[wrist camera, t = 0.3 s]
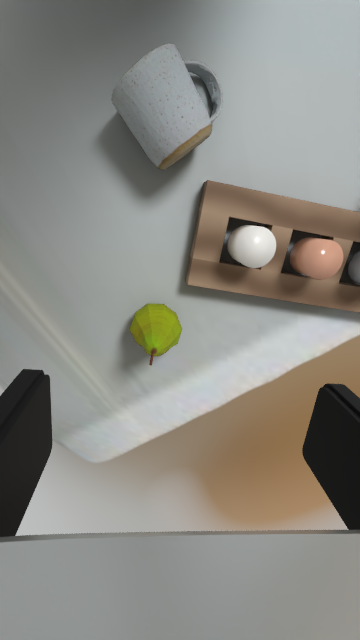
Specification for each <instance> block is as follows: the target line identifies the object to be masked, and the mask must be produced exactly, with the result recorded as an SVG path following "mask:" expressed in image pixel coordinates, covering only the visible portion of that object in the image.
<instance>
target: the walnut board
mask: <svg viewBox="0 0 360 640" xmlns="http://www.w3.org/2000/svg"><path fill="white" fill-rule="evenodd" d="M229 217H230V218H235V219H240V220H245V221H250V222H255V223H260V224H265V228H267V229H268V230H270V231H271V232H272V233H273V235H274V237H275V240H276V251H275V254H274V256H273V258H272V259H271V260H270V261H269V262H268V263H267V264H266V265H264V266H262V267H259V268H250V267H247V266H245V265H242V264H236V263H230V262H225V261H220V256H221V252H222V247H223V243H224V238H225V234H226V229H227V225H228V220H229ZM293 230H296V231H301V232H306V233H311V234H316V235H321V236H323V239H327V240H332V241H335V242H336V243H338V244H339V245H340V247H341V248H342V251H343V262H342V265H341V267H340V269H339V270H338V271H337V273H335V274H334V275H333V276H332V277H330V278H327V279H323V280H319V279H315V278H312V277H310V276H304V275H299V274H293V273H287V272H282V271H281V270H282V266H283V263H284V260H285V256H286V253H287V249H288V246H289V242H290V239H291V235H292V232H293ZM353 242H357V243H360V212H355V211H350V210H346V209H341V208H336V207H331V206H327V205H322V204H317V203H313V202H308V201H303V200H299V199H294V198H289V197H284V196H280V195H275V194H270V193H266V192H261V191H256V190H251V189H247V188H242V187H237V186H233V185H228V184H223V183H218V182H214V181H209V180H207V181H206V182H204V186H203V191H202V196H201V201H200V207H199V212H198V217H197V223H196V228H195V233H194V238H193V244H192V249H191V254H190V260H189V265H188V270H187V275H186V283H187V285H192V286H199V287H205V288H211V289H217V290H223V291H230V292H236V293H242V294H248V295H254V296H260V297H267V298H273V299H279V300H285V301H291V302H298V303H304V304H310V305H316V306H322V307H328V308H335V309H341V310H347V311H353V312H359V313H360V285H356V284H350V283H344V282H339V281H340V278H341V275H342V272H343V269H344V266H345V263H346V261H347V258H348V255H349V252H350V249H351V246H352V243H353Z"/></svg>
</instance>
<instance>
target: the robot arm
mask: <svg viewBox="0 0 360 640" xmlns="http://www.w3.org/2000/svg"><path fill="white" fill-rule="evenodd" d="M51 449H52V424H51V397H50V377H49V375H44V372H43V370H30V369H23V370H22V371H21V372H20V373H19V375H18V376H17V377H16V378H15V379H14V380H13V382H12V383H11V384H10V385H9V386H8V388H7V389H6V390H5V391H4V392H3V393H2V395H1V396H0V640H360V398H359V397H358V396H356V395H355V394H354V393H353V392H352V391H351V390H350V389H348V388H347V387H346V386H345V385H342V384H325V385H324V386H323V387H322V388H320V389H319V392H318V395H317V399H316V402H315V406H314V409H313V413H312V417H311V420H310V424H309V428H308V431H307V434H306V438H305V442H304V445H303V456H304V459H305V461H306V462H307V464H308V466H309V467H310V468H311V470H312V472H313V474H314V475H315V477H316V478H317V480H318V482H319V483H320V485H321V486H322V488H323V489H324V491H325V493H326V494H327V496H328V497H329V499H330V500H331V502H332V503H333V505H334V507H335V509H336V510H337V512H338V513H339V515H340V517H341V518H342V520H343V521H344V523H345V525H346V526H347V528H348V529H349V530H278V531H277V530H272V531H271V530H268V531H187V532H134V533H133V532H131V533H130V532H129V533H84V534H83V533H81V534H50V535H25V536H15V535H16V532H17V530H18V528H19V526H20V523H21V521H22V518H23V516H24V514H25V511H26V509H27V507H28V505H29V502H30V500H31V497H32V495H33V493H34V491H35V488H36V486H37V484H38V481H39V479H40V477H41V474H42V472H43V470H44V467H45V465H46V463H47V460H48V458H49V456H50V453H51Z"/></svg>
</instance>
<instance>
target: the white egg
mask: <svg viewBox="0 0 360 640" xmlns="http://www.w3.org/2000/svg"><path fill="white" fill-rule="evenodd" d="M228 251H229V253H230V255H231V257H232V258H233V259H235V260H236V261H238V262H240V263H242V264H243V265H245V266H247V267H250V268H259V267H262V266H264V265H266V264H267V263H268V262H269V261H270V260H271V259H272V258H273V256H274V254H275V251H276V240H275V237H274V235H273V233H272V232H271V231H270V230H268V229H267V228H265V227H261V226H252V225H243V226H240V227H238V228H236V229H235V230H234V231H233V232H232V233H231V235H230V237H229V240H228Z"/></svg>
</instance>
